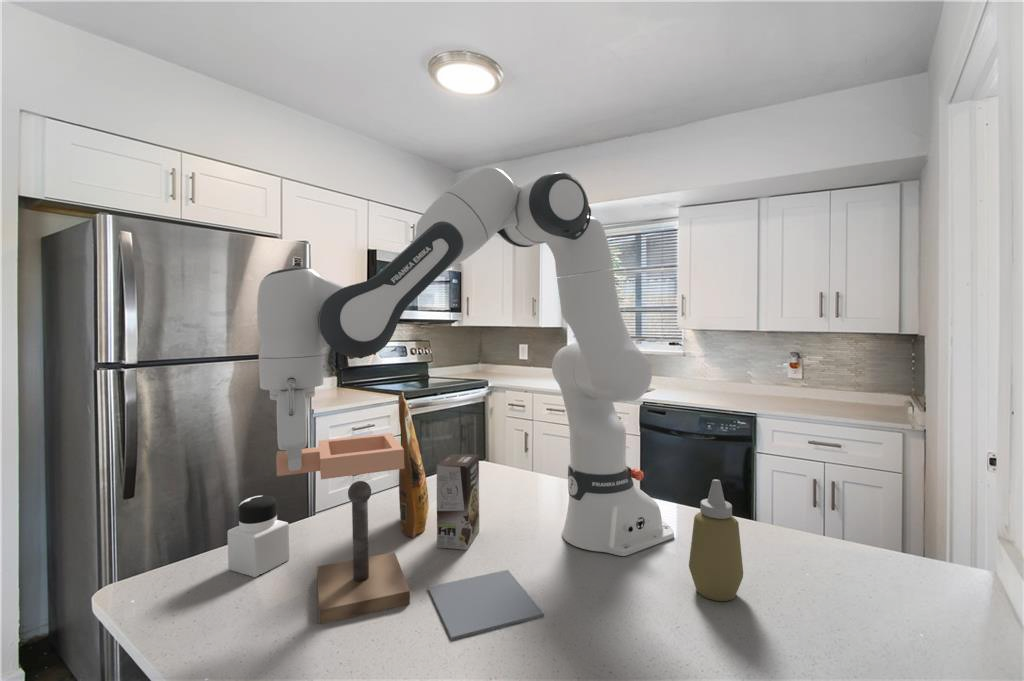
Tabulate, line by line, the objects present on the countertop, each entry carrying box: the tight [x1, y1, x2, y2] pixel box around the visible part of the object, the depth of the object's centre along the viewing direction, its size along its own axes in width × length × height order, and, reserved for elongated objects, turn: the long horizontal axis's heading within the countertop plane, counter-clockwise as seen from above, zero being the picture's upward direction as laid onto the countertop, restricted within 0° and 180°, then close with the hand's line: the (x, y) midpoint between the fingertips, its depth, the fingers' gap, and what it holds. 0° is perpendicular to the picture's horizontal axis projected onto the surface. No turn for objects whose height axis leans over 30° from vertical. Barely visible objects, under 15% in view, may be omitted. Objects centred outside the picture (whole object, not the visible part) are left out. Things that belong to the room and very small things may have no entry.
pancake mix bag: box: [398, 390, 430, 538], centre depth 107 cm, size 7×19×28 cm, turn 6°
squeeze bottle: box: [688, 479, 744, 602], centre depth 78 cm, size 8×8×18 cm
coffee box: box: [436, 453, 480, 551], centre depth 98 cm, size 9×6×16 cm
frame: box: [275, 433, 404, 480], centre depth 78 cm, size 18×12×3 cm, turn 113°
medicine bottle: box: [226, 495, 290, 578], centre depth 88 cm, size 7×7×12 cm
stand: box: [316, 480, 411, 625], centre depth 80 cm, size 13×14×18 cm
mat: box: [427, 569, 545, 641], centre depth 76 cm, size 14×14×1 cm
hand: (295, 465), depth 76 cm, fingers closed on frame, 3 cm apart
